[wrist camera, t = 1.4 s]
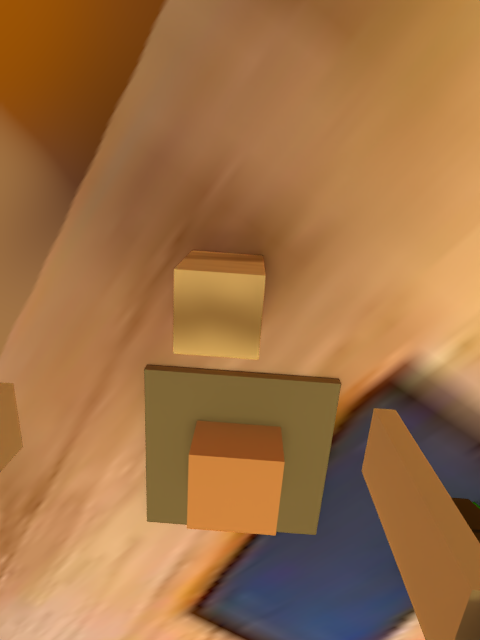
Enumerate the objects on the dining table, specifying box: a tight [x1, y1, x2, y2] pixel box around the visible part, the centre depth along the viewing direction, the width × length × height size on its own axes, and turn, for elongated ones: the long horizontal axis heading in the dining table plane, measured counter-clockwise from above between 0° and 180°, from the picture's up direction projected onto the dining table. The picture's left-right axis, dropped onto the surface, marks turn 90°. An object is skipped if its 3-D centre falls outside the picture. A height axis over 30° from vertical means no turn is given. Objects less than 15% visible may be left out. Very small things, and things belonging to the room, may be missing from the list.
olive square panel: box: [144, 365, 341, 535], centre depth 39 cm, size 18×18×1 cm
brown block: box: [173, 250, 266, 360], centre depth 30 cm, size 6×6×8 cm
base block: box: [187, 421, 285, 535], centre depth 36 cm, size 8×8×5 cm
